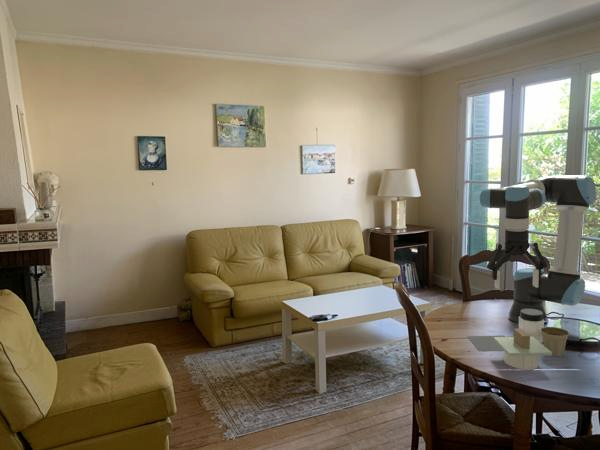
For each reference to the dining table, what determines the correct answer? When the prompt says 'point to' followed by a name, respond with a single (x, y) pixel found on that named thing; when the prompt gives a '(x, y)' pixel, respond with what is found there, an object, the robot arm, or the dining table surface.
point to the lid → (522, 345)
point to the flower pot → (554, 339)
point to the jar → (532, 323)
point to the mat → (485, 343)
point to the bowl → (522, 361)
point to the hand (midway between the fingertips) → (516, 287)
